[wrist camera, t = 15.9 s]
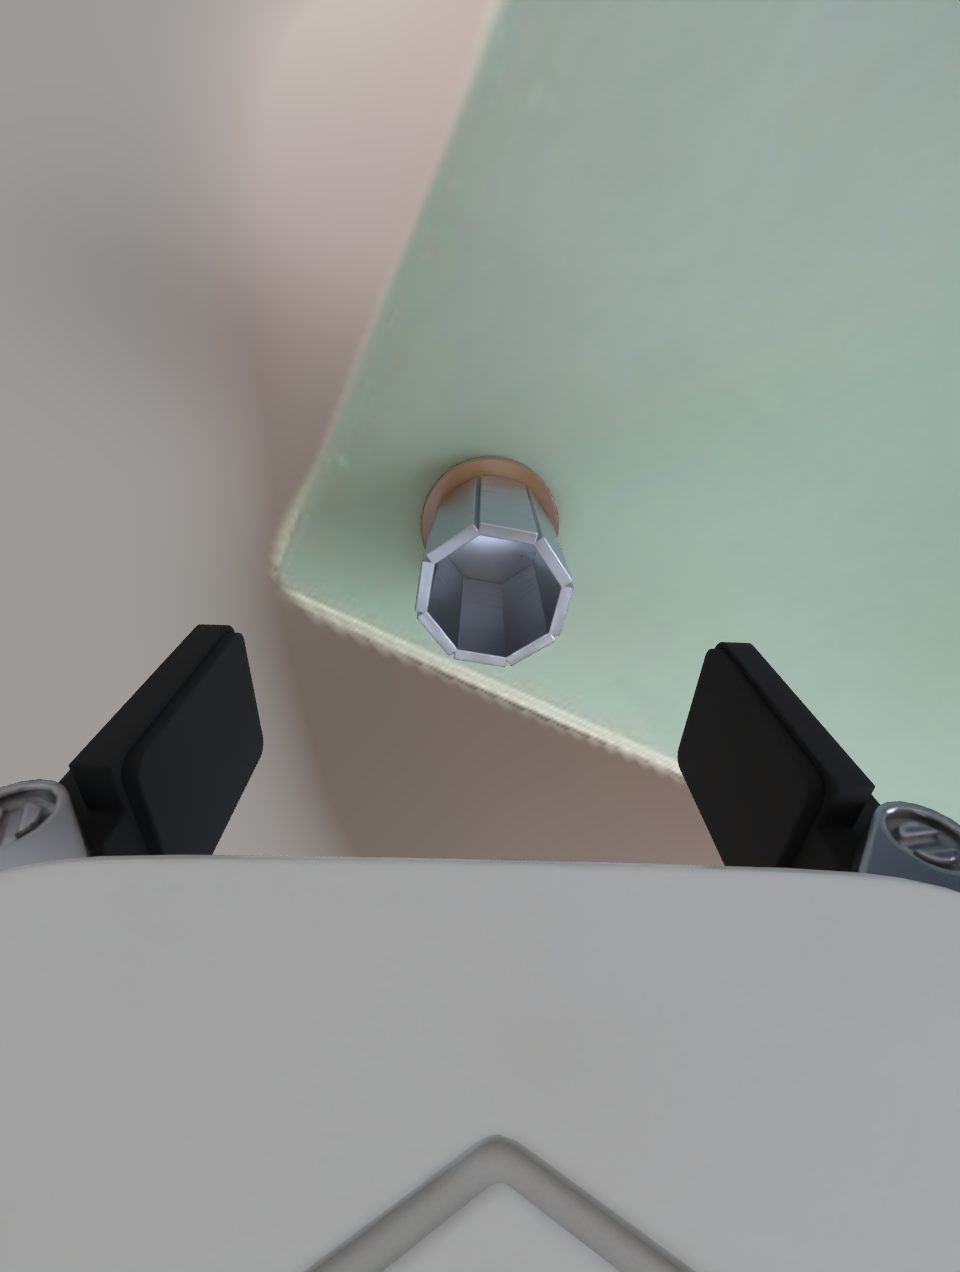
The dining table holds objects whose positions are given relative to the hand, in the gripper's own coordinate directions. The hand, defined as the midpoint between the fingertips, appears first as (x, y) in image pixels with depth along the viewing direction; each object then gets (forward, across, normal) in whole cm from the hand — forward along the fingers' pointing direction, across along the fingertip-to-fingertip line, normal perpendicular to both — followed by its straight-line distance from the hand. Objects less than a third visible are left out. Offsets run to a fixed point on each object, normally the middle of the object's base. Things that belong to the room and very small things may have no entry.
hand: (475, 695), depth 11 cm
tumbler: (+12, -1, +1) cm, 12 cm away
